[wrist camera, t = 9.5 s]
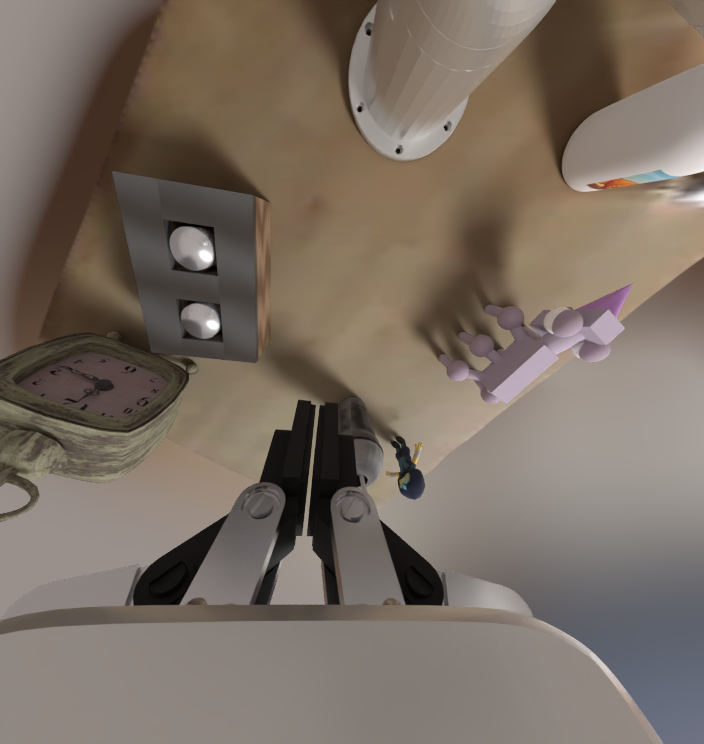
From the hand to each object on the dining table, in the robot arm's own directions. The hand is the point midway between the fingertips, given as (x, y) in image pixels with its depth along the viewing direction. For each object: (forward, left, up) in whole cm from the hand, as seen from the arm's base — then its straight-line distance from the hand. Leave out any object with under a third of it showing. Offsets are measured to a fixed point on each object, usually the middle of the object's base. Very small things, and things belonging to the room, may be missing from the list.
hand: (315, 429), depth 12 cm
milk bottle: (-20, +29, -29) cm, 46 cm away
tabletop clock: (+14, -25, -29) cm, 41 cm away
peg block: (-1, -14, -29) cm, 32 cm away
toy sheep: (+2, +26, -29) cm, 40 cm away
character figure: (+26, +16, -29) cm, 42 cm away
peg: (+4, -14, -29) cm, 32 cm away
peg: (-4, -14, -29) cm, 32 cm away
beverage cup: (+19, +6, -29) cm, 35 cm away
